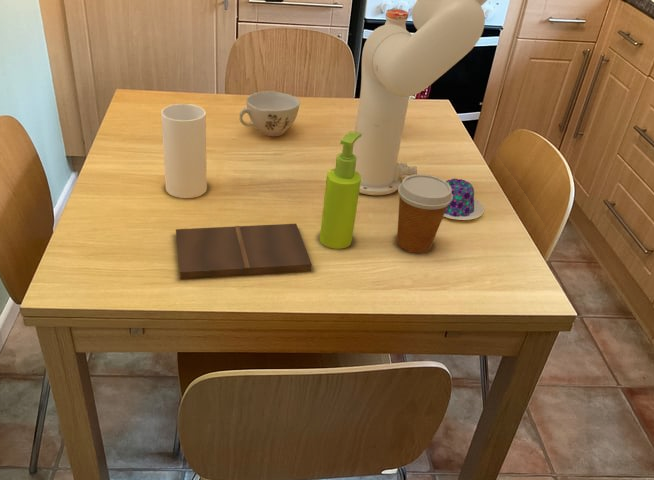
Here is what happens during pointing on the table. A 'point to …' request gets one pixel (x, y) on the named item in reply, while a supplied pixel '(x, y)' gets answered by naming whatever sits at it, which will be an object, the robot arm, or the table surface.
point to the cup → (184, 150)
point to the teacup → (271, 112)
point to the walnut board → (241, 251)
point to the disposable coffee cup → (421, 211)
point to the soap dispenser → (341, 197)
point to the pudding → (463, 201)
